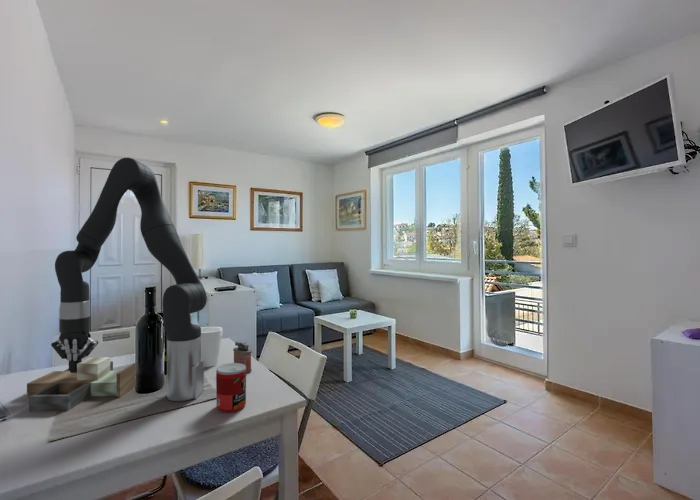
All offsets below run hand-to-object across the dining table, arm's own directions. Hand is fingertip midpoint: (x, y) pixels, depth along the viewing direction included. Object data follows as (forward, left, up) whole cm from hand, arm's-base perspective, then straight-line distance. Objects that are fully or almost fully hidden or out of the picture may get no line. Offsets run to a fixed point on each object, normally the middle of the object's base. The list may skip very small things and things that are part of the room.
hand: (75, 371), depth 109 cm
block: (-6, 0, -2) cm, 6 cm away
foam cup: (-33, -22, -6) cm, 40 cm away
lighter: (-47, -15, -6) cm, 50 cm away
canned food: (-51, +13, -6) cm, 53 cm away
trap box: (-3, 0, -6) cm, 6 cm away
